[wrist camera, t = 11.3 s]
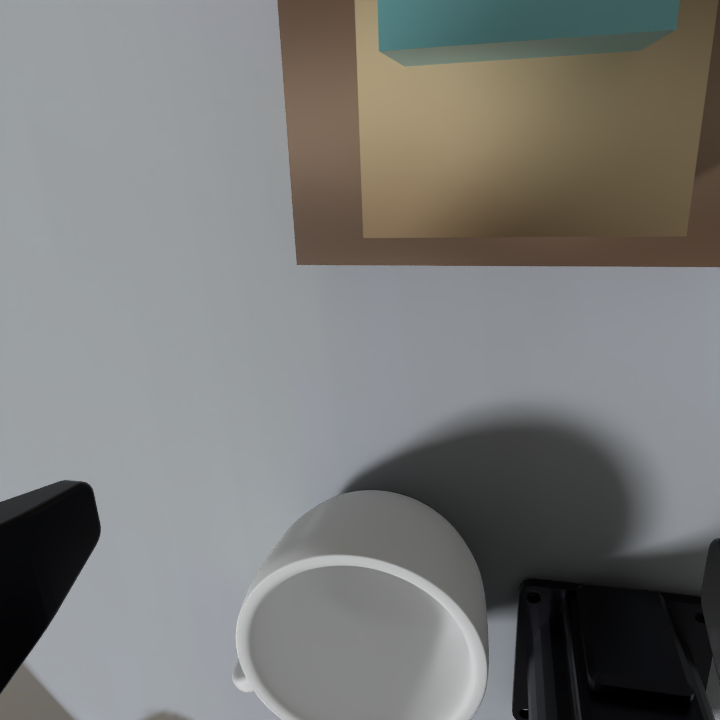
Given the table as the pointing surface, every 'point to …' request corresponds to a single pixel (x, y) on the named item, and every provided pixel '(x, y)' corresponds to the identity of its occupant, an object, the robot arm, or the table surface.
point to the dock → (348, 247)
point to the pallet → (533, 139)
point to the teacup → (366, 616)
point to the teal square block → (518, 28)
